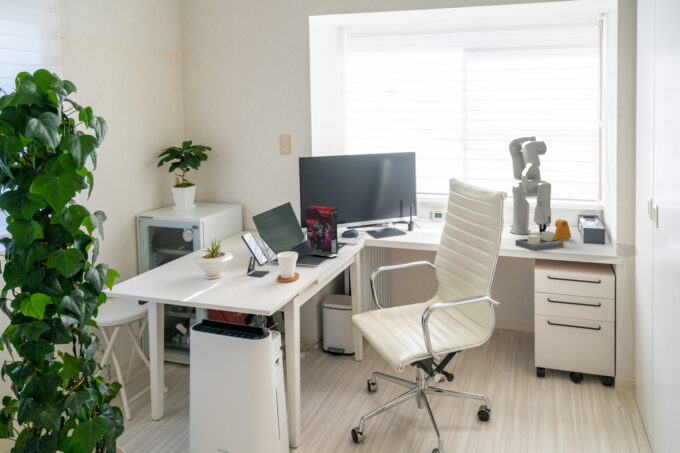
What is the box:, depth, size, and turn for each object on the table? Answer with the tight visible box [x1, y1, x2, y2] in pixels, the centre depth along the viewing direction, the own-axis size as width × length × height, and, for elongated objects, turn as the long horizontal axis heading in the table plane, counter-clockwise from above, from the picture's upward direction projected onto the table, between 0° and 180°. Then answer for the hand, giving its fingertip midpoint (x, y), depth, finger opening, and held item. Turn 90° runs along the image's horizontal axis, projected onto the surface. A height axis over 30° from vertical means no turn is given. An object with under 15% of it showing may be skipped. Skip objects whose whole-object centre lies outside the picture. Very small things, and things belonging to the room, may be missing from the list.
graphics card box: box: [305, 205, 339, 255], centre depth 340 cm, size 17×7×27 cm, turn 56°
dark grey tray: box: [515, 237, 565, 252], centre depth 354 cm, size 16×21×3 cm
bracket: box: [553, 218, 572, 242], centre depth 369 cm, size 11×7×12 cm, turn 110°
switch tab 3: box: [541, 230, 554, 241], centre depth 357 cm, size 4×5×5 cm
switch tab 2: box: [527, 234, 540, 245], centre depth 348 cm, size 4×5×5 cm
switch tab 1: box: [528, 230, 541, 237], centre depth 357 cm, size 4×5×5 cm
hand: (542, 235), depth 360 cm, fingers closed
